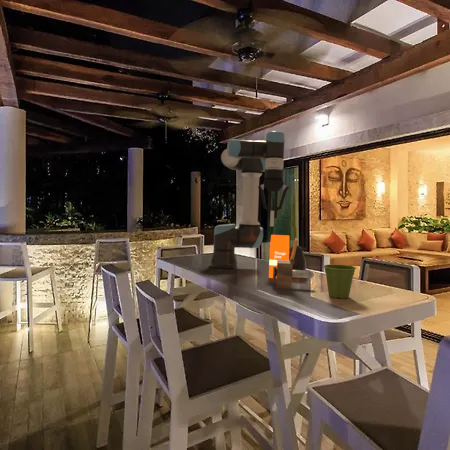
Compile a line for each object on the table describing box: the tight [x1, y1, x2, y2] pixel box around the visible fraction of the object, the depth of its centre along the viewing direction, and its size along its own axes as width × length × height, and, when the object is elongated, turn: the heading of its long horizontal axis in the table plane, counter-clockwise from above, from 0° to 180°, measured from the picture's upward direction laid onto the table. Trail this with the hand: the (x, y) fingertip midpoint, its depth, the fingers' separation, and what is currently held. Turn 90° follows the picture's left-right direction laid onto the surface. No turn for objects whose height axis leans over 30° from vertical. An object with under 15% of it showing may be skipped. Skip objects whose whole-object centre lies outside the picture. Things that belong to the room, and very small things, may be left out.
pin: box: [272, 266, 315, 280], centre depth 149 cm, size 5×17×5 cm, turn 82°
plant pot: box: [322, 263, 357, 299], centre depth 134 cm, size 12×12×11 cm
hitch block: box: [275, 256, 295, 290], centre depth 149 cm, size 10×7×12 cm, turn 172°
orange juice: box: [268, 234, 290, 279], centre depth 170 cm, size 8×9×20 cm
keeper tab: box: [290, 237, 299, 259], centre depth 148 cm, size 8×10×1 cm
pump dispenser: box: [289, 244, 307, 271], centre depth 174 cm, size 10×10×15 cm
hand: (271, 226), depth 149 cm, fingers closed
